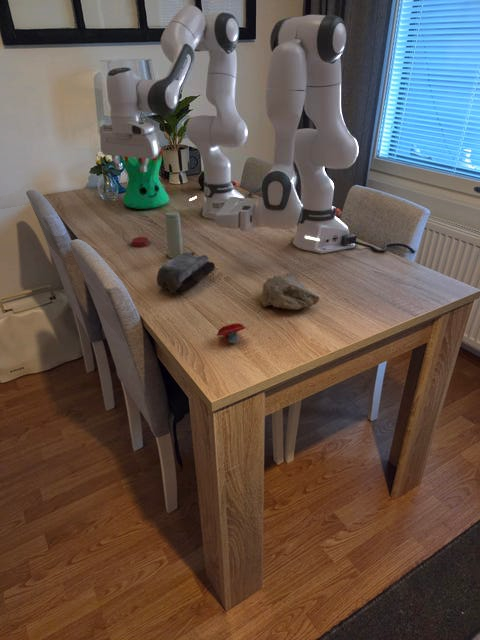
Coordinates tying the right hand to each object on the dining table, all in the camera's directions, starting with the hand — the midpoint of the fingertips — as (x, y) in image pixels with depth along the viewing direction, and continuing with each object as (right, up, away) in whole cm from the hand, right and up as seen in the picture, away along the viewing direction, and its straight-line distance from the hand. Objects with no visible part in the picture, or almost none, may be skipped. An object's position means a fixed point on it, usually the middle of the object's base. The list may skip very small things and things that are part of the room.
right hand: (208, 209), depth 143 cm
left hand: (-27, +15, +7) cm, 31 cm away
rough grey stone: (+23, -30, -16) cm, 41 cm away
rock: (-6, -25, -7) cm, 27 cm away
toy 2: (-4, +30, +82) cm, 87 cm away
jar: (-12, -13, +11) cm, 21 cm away
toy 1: (-33, +17, +61) cm, 71 cm away
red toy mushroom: (+8, -41, -33) cm, 53 cm away
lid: (-27, -7, +20) cm, 34 cm away
